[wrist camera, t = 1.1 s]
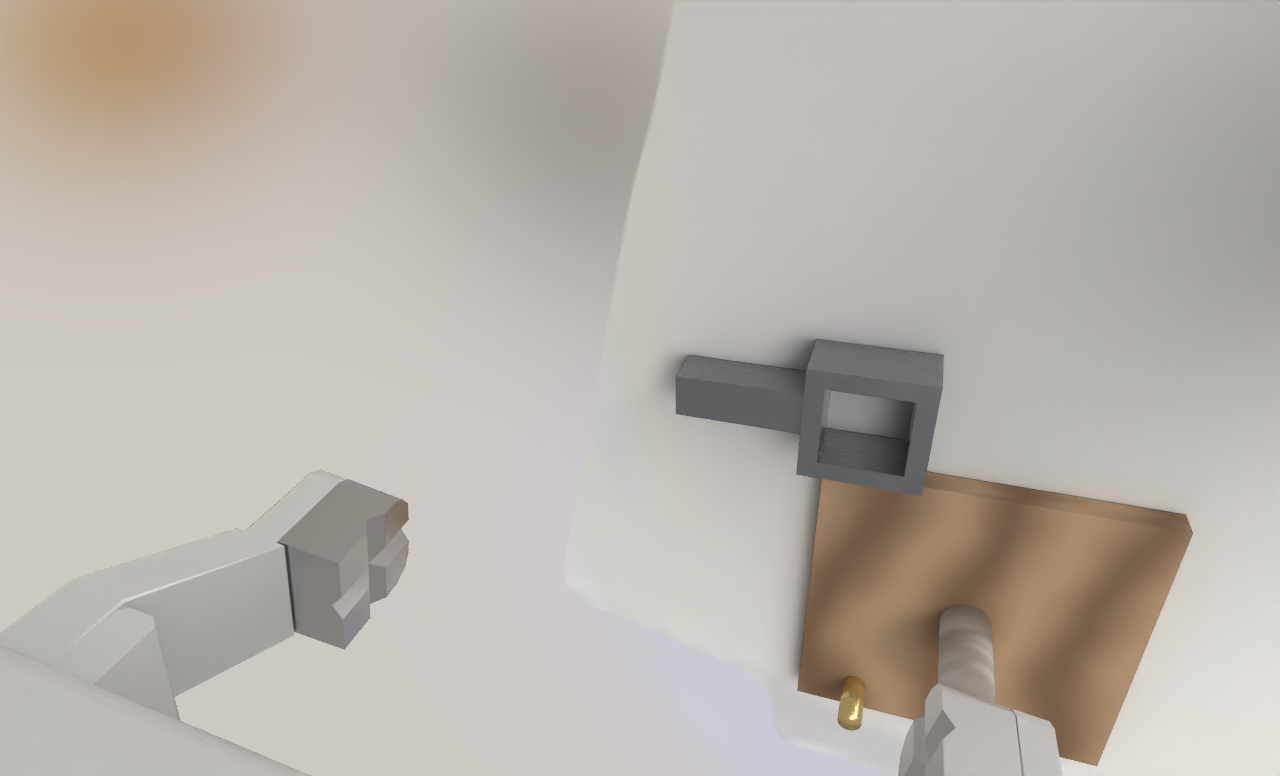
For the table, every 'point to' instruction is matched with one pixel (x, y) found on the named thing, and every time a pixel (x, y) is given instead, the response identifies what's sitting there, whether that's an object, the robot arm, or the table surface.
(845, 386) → the square loop paddle
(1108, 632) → the base
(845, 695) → the dowel
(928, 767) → the robot arm
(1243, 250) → the table surface
